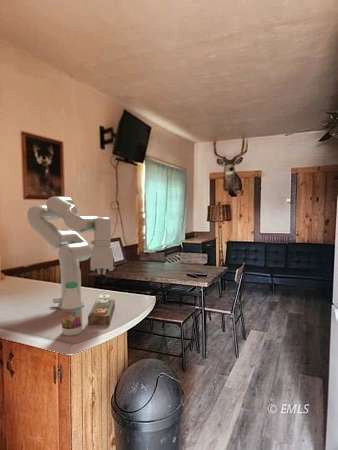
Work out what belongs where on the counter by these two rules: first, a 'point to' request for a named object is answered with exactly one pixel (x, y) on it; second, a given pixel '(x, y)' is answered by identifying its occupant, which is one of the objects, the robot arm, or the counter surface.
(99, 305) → the button two
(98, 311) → the button three
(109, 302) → the button one
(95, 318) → the button board
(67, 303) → the milk bottle
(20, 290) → the counter surface
